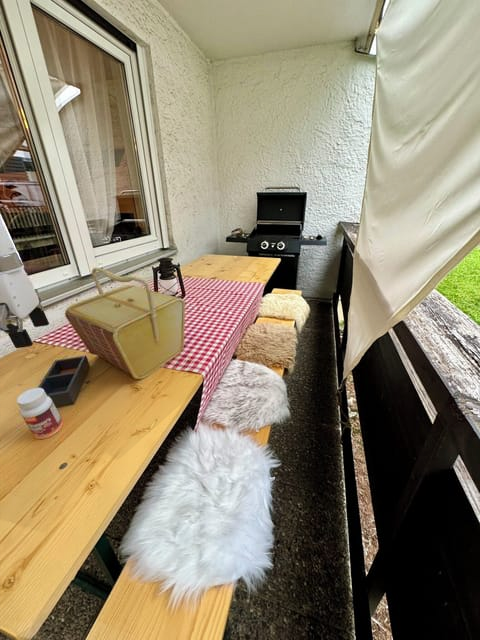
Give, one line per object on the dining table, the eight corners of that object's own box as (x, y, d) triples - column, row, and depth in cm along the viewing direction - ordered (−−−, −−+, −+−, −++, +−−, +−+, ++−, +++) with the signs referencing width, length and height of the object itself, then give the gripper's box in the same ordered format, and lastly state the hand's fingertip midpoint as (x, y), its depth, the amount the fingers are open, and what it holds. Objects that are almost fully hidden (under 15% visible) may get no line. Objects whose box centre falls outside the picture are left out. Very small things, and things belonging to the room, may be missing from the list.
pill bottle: (33, 444, 61) (11, 409, 55) (35, 425, 65) (15, 392, 60) (63, 431, 63) (45, 398, 58) (63, 415, 68) (46, 382, 63)
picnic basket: (194, 348, 93) (182, 267, 79) (133, 392, 75) (103, 296, 60) (143, 328, 108) (125, 256, 94) (81, 360, 89) (47, 277, 75)
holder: (37, 411, 70) (30, 399, 67) (60, 371, 85) (55, 360, 82) (74, 404, 71) (68, 392, 69) (90, 366, 86) (85, 355, 84)
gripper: (-1, 256, 59) (31, 321, 67) (-54, 279, 44) (-5, 359, 52) (36, 252, 61) (63, 316, 69) (-3, 274, 46) (37, 352, 54)
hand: (34, 335), depth 61 cm, fingers open, 9 cm apart
